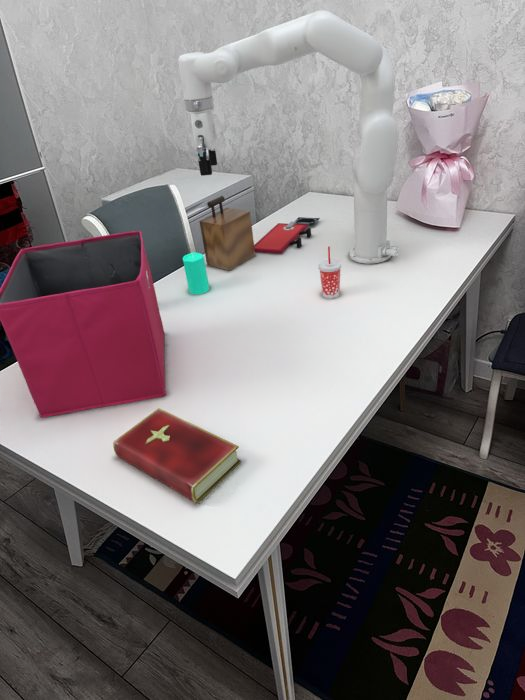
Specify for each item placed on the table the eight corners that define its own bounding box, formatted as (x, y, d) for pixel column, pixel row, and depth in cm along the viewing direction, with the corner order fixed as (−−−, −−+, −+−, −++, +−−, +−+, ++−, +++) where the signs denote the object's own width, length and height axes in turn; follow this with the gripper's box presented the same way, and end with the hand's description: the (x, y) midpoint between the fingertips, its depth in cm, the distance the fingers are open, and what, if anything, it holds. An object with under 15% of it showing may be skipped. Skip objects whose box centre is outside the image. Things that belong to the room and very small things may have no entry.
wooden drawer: (248, 195, 169) (224, 191, 174) (220, 208, 161) (196, 204, 166) (255, 255, 179) (232, 250, 185) (229, 270, 172) (206, 265, 177)
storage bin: (171, 397, 120) (142, 278, 105) (37, 422, 118) (-13, 303, 103) (168, 333, 144) (144, 228, 128) (56, 352, 141) (18, 248, 126)
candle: (189, 286, 166) (181, 249, 159) (209, 284, 166) (202, 246, 159) (188, 295, 161) (181, 257, 154) (209, 293, 161) (202, 254, 154)
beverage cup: (321, 289, 155) (318, 242, 148) (343, 289, 154) (341, 241, 146) (318, 299, 150) (315, 251, 143) (341, 299, 149) (339, 251, 141)
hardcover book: (195, 505, 94) (191, 487, 92) (116, 458, 106) (111, 441, 103) (241, 462, 101) (238, 444, 99) (162, 423, 113) (158, 406, 111)
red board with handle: (325, 220, 198) (287, 219, 205) (324, 213, 197) (286, 211, 203) (292, 255, 177) (250, 252, 183) (291, 247, 175) (249, 244, 182)
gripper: (208, 109, 140) (218, 177, 150) (217, 98, 155) (226, 160, 164) (179, 112, 141) (190, 180, 151) (191, 100, 156) (201, 163, 165)
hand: (209, 170), depth 157 cm, fingers open, 9 cm apart
